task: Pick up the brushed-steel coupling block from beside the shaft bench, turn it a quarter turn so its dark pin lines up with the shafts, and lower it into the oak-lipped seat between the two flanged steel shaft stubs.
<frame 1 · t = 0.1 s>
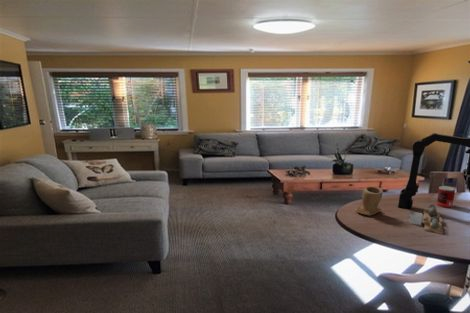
shaft bench: (432, 222, 145), on the table
canned food: (444, 205, 168), on the table
coupling block: (415, 222, 145), on the table
stone cup: (369, 213, 158), on the table
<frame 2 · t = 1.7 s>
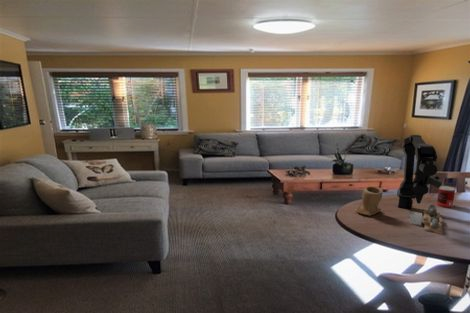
hand: (418, 200, 142), 12 cm above the table, fingers open, 9 cm apart
nothing on the table moved.
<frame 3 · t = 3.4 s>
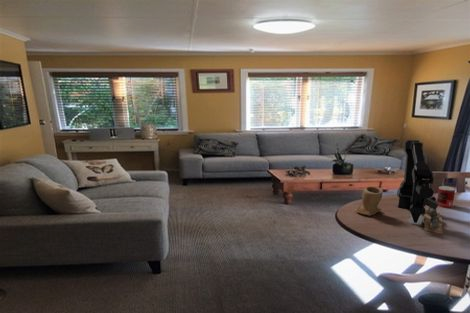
hand: (415, 220, 144), 1 cm above the table, fingers closed on coupling block, 5 cm apart
coupling block: (415, 222, 145), on the table, touching gripper
everything else where it was.
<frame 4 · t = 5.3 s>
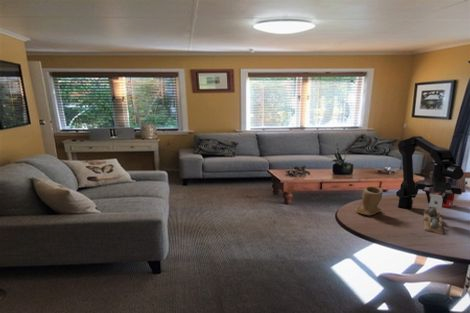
hand: (434, 203, 143), 10 cm above the table, fingers closed on coupling block, 5 cm apart
coupling block: (434, 205, 143), point 9 cm above the table, touching gripper
everything else where it was.
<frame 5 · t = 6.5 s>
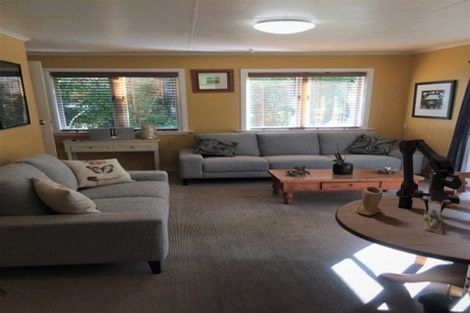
hand: (433, 212, 144), 5 cm above the table, fingers closed on coupling block, 5 cm apart
coupling block: (433, 214, 144), point 4 cm above the table, touching gripper
everything else where it was.
when the fingers open (3 cm above the table, at t = 7.2 s): coupling block drops 1 cm, resting on shaft bench.
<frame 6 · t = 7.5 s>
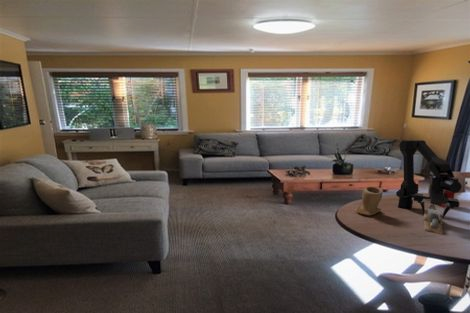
hand: (433, 215, 145), 3 cm above the table, fingers open, 8 cm apart
coupling block: (432, 220, 145), point 1 cm above the table, touching shaft bench
everything else where it was.
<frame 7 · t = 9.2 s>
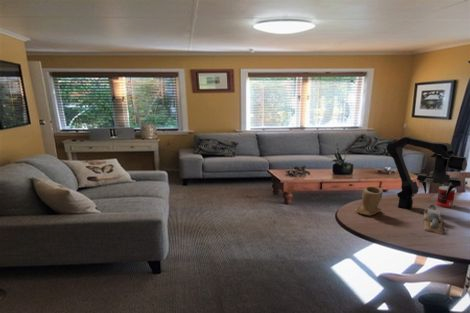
hand: (435, 194, 151), 12 cm above the table, fingers open, 9 cm apart
nothing on the table moved.
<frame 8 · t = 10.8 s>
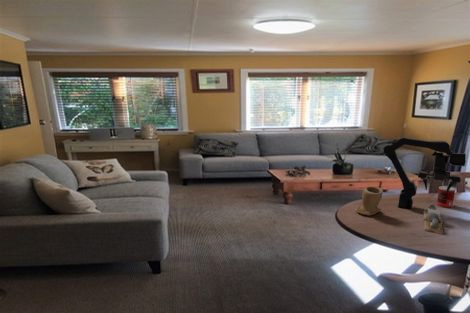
hand: (436, 191, 156), 12 cm above the table, fingers open, 9 cm apart
nothing on the table moved.
at the end: coupling block 0.0 cm off-centre on the shaft bench, point 1.0 cm above the shaft bench's base; coupling block tilted 0°; the gripper is holding nothing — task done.
